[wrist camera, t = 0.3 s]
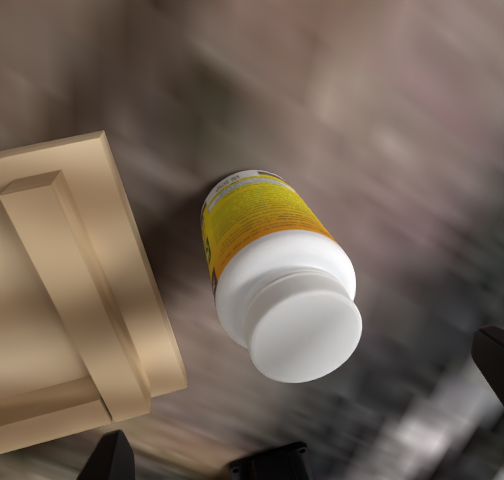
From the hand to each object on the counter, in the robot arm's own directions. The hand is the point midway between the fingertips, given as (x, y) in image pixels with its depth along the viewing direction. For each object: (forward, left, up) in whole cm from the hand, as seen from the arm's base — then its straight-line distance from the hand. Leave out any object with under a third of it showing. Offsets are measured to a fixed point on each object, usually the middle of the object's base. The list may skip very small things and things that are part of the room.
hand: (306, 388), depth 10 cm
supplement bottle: (-1, -1, -13) cm, 13 cm away
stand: (-3, +13, -13) cm, 19 cm away
